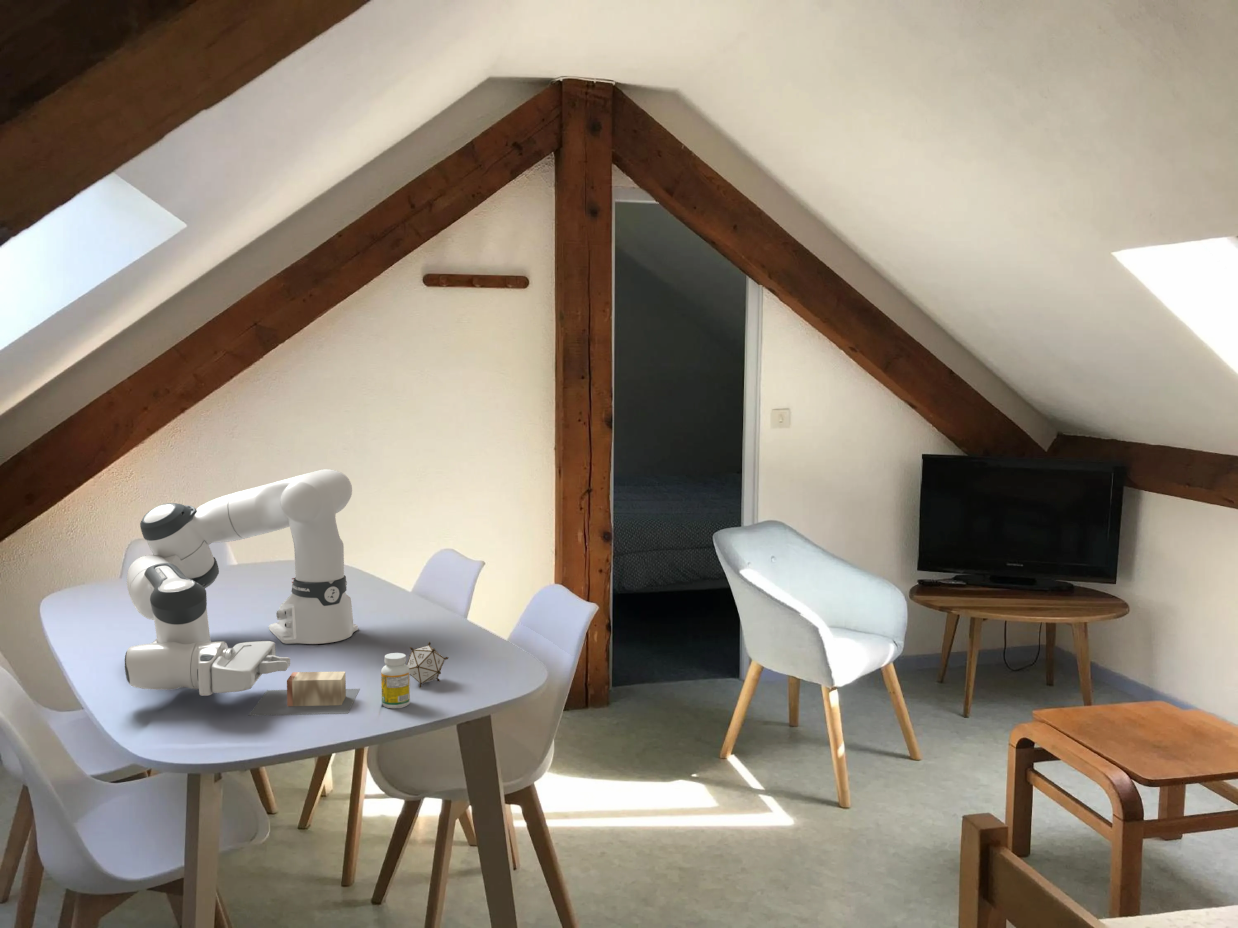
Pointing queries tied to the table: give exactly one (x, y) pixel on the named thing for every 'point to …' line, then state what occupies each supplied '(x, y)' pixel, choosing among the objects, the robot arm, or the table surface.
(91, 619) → the table surface
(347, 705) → the rubber mat
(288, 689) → the birch block
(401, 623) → the table surface
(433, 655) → the game die
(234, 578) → the table surface
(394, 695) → the supplement bottle
